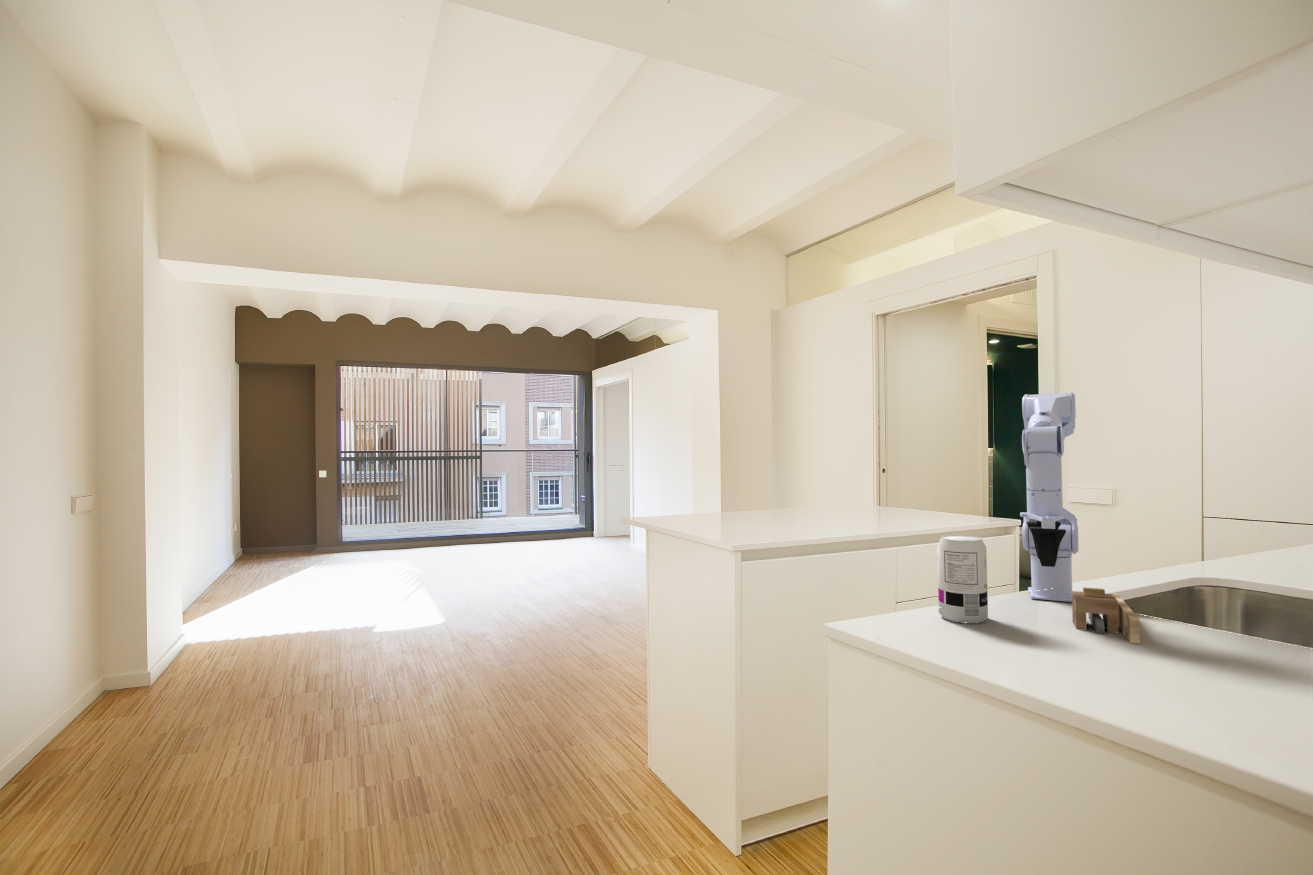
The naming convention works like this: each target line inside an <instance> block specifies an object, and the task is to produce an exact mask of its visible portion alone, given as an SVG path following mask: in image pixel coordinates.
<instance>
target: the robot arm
mask: <svg viewBox="0 0 1313 875" xmlns="http://www.w3.org/2000/svg"><path fill="white" fill-rule="evenodd" d="M1021 400H1022V401H1021V408H1022V409H1021V410H1022V411H1021V412H1022V419H1023V426H1024V428H1023V429H1022V434H1021V446H1022V448H1021V449H1022V453H1023V457H1024V458H1023V460H1024V466H1025V467H1026V468H1025V476H1026V477H1025V479H1026V480H1025V481H1026V485H1025V486H1026V512H1024V511H1023V512H1021V511H1020V513H1019V516H1020V517H1021V518H1023V523H1022V528H1021V529H1022V532H1021V536H1022V537H1021V538H1022V539H1021V540H1022V548H1023V549H1025V551H1029V555H1030V577H1031V586H1028V587H1027V590H1028V594H1029V597H1030V599H1031V600H1032V599H1033V600H1044V601H1055V602H1066V603H1067V602H1068V603H1069V602H1070V603H1072V591H1073V572H1072V571H1073V570H1072V556H1073V555H1076V554H1077V553H1078V552H1079V550H1080V547H1079V546H1080V545H1079V525H1078V519H1077V517H1076V515H1075V514H1074V513H1072V512H1071V511H1069V510H1068V509H1066V508H1064V507H1063V506H1064V504H1063V503H1064V502H1063V476H1062V475H1063V473H1062V472H1063V471H1062V466H1063V465H1062V457H1063V455H1064V452H1065V451H1064V450H1065V438H1067V437H1069V436H1071V435H1073V434H1075V429H1076V417H1077V416H1076V412H1077V411H1076V410H1077V409H1076V394H1075V393H1073V392H1072V391H1069V392H1059V393H1058V392H1057V393H1040V394H1039V393H1038V394H1028V393H1027V394H1024V395H1023V397H1022V398H1021ZM1051 588H1053V589H1051ZM1044 589H1047V590H1044ZM1036 590H1040V591H1036ZM1034 591H1036V592H1034ZM1029 592H1030V593H1029Z"/></svg>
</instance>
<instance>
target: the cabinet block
mask: <svg viewBox="0 0 1313 875" xmlns="http://www.w3.org/2000/svg"><path fill="white" fill-rule="evenodd" d="M1113 594H1114V593H1113ZM1113 594H1110V593H1106V590H1105V589H1104V588H1098V587H1097V588H1096V587H1085V586H1084V587H1082V591H1076V590H1072V602H1071V606H1072V608H1071V610H1072V611H1071V612H1072V613H1071V614H1072V623H1073V626H1074V627H1075V629H1076V630H1082V629H1086V630H1085V631H1087V614H1088V613H1096V614H1099V615H1102V619H1103V621H1104V629H1105V630H1106V632H1107V631H1108V632H1107V633H1112V632H1116V633H1115V634H1119V626H1118V601H1117V599H1116V598H1115V597H1114V596H1113ZM1117 632H1118V633H1117Z"/></svg>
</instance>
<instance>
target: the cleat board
mask: <svg viewBox="0 0 1313 875" xmlns="http://www.w3.org/2000/svg"><path fill="white" fill-rule="evenodd" d="M1109 594H1113V596H1114V597H1115V598H1116V599H1117V601H1118V628H1119V629H1120V628H1121V629H1120V631H1121V632H1122V631H1123V632H1122V633H1123V635H1124V636H1125V637H1126V639H1127V638H1128V639H1127V640H1128V641H1129V643H1130V644H1136V643H1137V644H1138V645H1140V644H1141V638H1140V637H1141V635H1140V634H1141V632H1140V618H1139V617H1138V616H1137V614H1136V613H1135V612H1134V611H1133V610H1132V608H1130V606H1129V605H1128V604H1127V603H1126V601H1124V600H1123V598H1122V597H1121V596H1120V595H1119V593H1114V592H1113V593H1111V592H1110V593H1109ZM1087 614H1088V619H1089V622H1090V623H1091V625H1092V626H1094V627H1093V628H1094V630H1095V632H1096V633H1097V634H1103V635H1104V634H1105V627H1104V621H1103V617H1101V614H1096V613H1087Z"/></svg>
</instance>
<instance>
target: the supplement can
mask: <svg viewBox="0 0 1313 875" xmlns="http://www.w3.org/2000/svg"><path fill="white" fill-rule="evenodd" d="M936 548H937V551H936V552H937V553H936V554H937V556H936V557H937V584H938V586H937V589H938V590H937V591H938V592H937V594H938V613H939V615H940V616H941V617H942V616H943V617H942V618H943V619H944V618H945V619H944V620H946V619H947V620H946V621H949V620H950V621H949V622H953V623H958V622H967V623H975V624H979V623H978V622H981V623H984V622H985V620H987V619H988V617H989V605H988V604H989V603H988V601H989V600H988V571H987V570H988V566H987V563H988V562H987V546H986V545H985V543H984V541H983V537H979V536H975V535H965V534H964V535H963V534H949V535H948V534H946V535H941V536H940V539H939V541H938V543H937V544H936ZM939 607H941V608H939ZM983 621H984V622H983ZM967 623H966V624H967Z"/></svg>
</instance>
